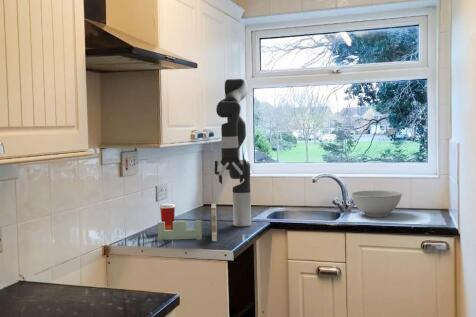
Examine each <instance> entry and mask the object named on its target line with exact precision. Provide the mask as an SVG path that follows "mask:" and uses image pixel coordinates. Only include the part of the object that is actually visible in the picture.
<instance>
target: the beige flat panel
mask: <svg viewBox="0 0 476 317" xmlns="http://www.w3.org/2000/svg"><path fill="white" fill-rule="evenodd" d="M210 211H211V212H210V214H211V217H210V218H211V220H210V221H211V241H212V242H217V241H218V228H217V226H218V225H217V224H218V222H217V220H218V218H217V202H212V203H211V207H210Z"/></svg>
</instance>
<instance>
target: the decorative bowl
mask: <svg viewBox="0 0 476 317" xmlns="http://www.w3.org/2000/svg"><path fill="white" fill-rule="evenodd" d="M402 195H403V194H402V193H401V192H399V191H395V190H394V191H392V190H358V191H353V192H352V193H351V198H352V201H353V202H354V205H355V207H357V209H358V210H360V211H361V212H362V213H364V215H365V217H370V218H382V217H383V218H384V217H387V216H389V213H390V214H391V213H392V211H394V210H396V208H397V206H398V205H399V203H400V201H401V198H402Z"/></svg>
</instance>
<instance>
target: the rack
mask: <svg viewBox="0 0 476 317" xmlns="http://www.w3.org/2000/svg"><path fill="white" fill-rule="evenodd" d="M193 222H194V223H193V224H194V228H193V229H190V228H188V227H187V221H186V220H177V221H176V220H174V221H173V230H165V222H162V221H157V238H156V239H157V242H163V240H164V241H165V240H166V241H167V240H168V241H169V240H188V239H189V240H191V239H192V240H193V239H194V240H195V239H196V240H197V241H202V237H203V232H202V228H203V227H202V220H194V221H193ZM187 228H188V229H187Z"/></svg>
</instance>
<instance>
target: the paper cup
mask: <svg viewBox="0 0 476 317" xmlns="http://www.w3.org/2000/svg"><path fill="white" fill-rule="evenodd" d="M159 209H160V220H161V221H160V222H165V230H173V221H175V220H176V218H175V216H176V215H175V214H176V212H175V210H176V205H175V203H170V202H169V203H161V204H160V205H159Z"/></svg>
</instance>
